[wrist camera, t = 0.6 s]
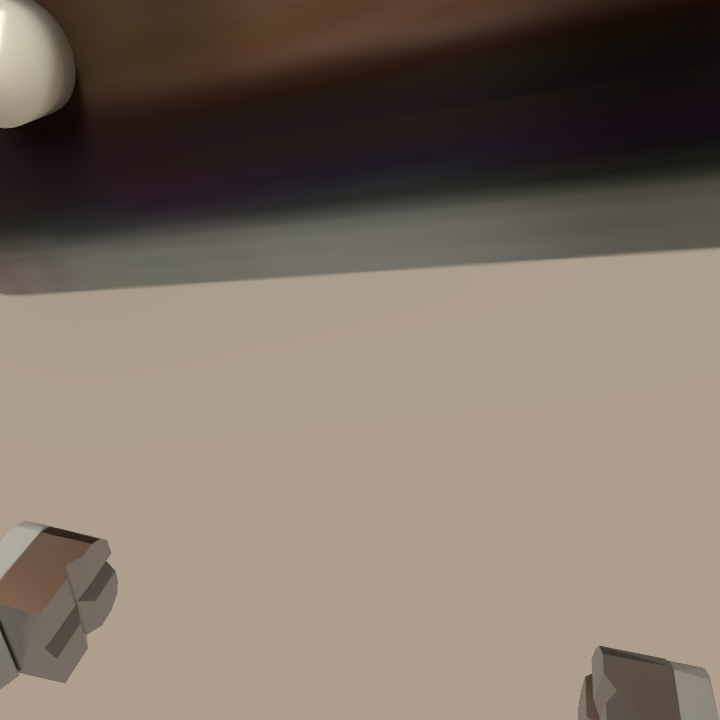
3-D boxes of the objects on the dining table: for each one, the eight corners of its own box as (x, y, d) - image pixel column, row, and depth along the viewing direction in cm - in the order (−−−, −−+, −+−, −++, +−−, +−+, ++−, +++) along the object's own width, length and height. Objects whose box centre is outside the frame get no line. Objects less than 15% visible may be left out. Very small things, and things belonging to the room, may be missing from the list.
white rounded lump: (-40, -11, 54) (-84, -6, 50) (64, -4, 52) (27, 3, 48) (-11, 109, 58) (-49, 122, 55) (85, 119, 57) (53, 133, 53)
